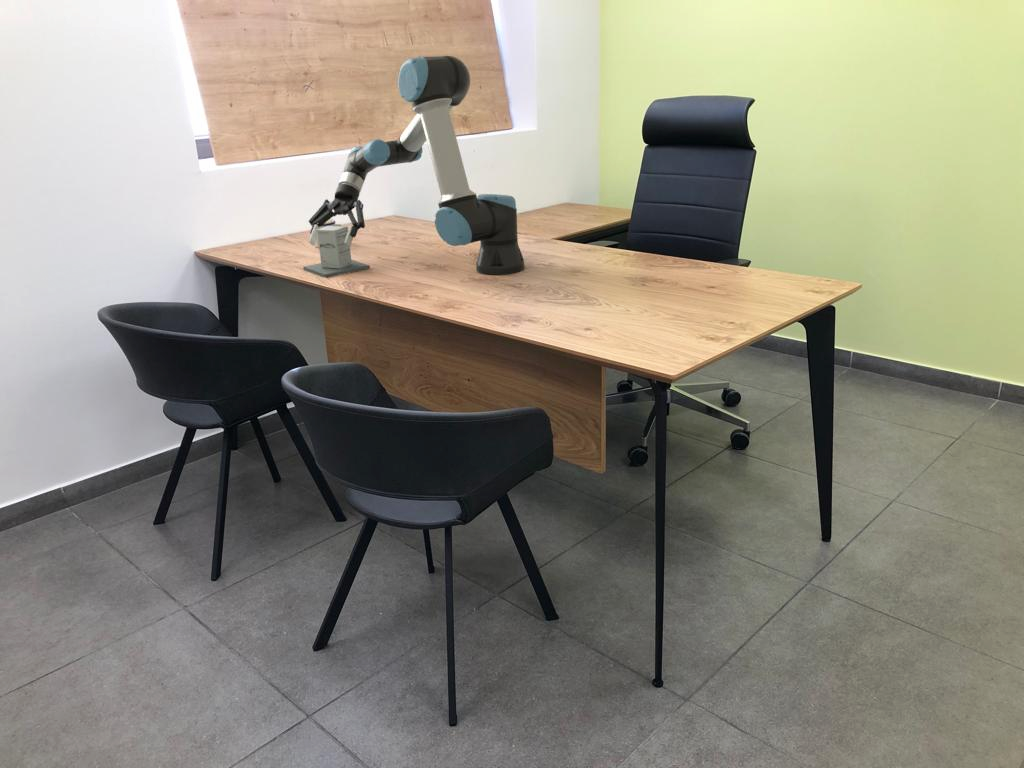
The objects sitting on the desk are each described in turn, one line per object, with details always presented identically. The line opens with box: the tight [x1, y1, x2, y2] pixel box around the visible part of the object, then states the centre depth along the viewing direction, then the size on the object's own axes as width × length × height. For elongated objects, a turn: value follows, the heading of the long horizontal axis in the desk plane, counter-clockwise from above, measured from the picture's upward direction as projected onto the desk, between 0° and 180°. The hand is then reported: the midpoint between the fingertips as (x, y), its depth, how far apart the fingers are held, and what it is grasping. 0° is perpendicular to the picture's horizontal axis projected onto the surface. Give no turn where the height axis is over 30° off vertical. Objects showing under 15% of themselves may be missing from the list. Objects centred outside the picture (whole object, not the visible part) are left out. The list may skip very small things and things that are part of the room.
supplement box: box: [317, 225, 352, 269], centre depth 263 cm, size 7×7×13 cm
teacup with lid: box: [310, 218, 343, 249], centre depth 301 cm, size 12×9×12 cm
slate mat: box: [302, 259, 370, 278], centre depth 266 cm, size 16×16×1 cm
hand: (329, 244), depth 261 cm, fingers open, 13 cm apart
